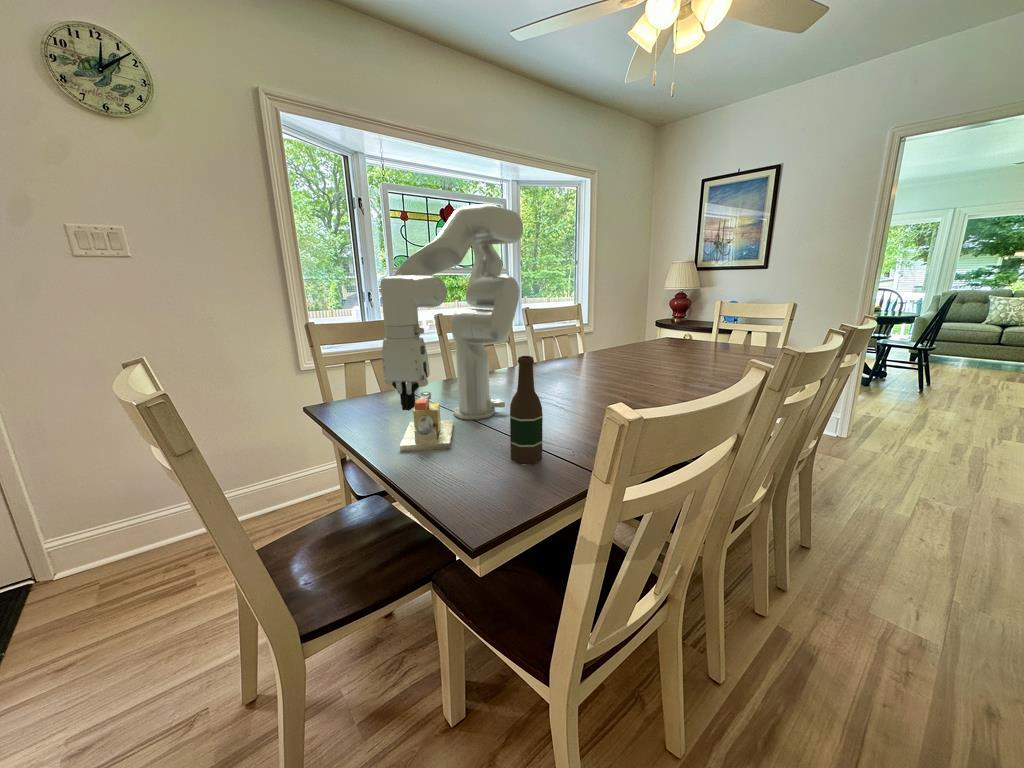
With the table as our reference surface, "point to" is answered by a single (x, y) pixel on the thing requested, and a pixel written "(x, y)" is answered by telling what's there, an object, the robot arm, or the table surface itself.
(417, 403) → the valve lever
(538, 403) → the beer bottle
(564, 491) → the table surface
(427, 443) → the valve stand
